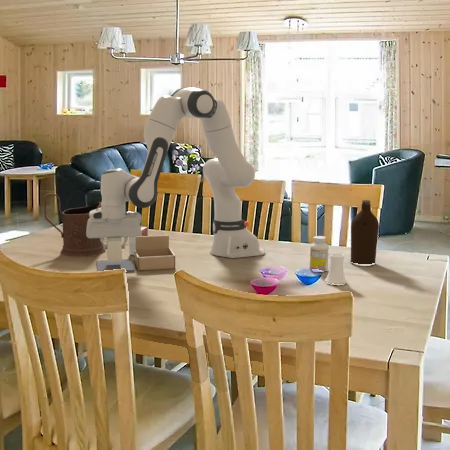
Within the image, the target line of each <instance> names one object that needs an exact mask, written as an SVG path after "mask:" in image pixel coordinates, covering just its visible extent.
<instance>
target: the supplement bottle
mask: <svg viewBox="0 0 450 450" xmlns="http://www.w3.org/2000/svg"><path fill="white" fill-rule="evenodd" d="M326 242H327V236H323V235H315V236H313V243H311V244H310V249H309V250H310V254H309V255H310V256H309V257H310V258H309V269H310V268H311V269H319V270H322V271H326V272H328V271H329V244H328V243H326Z"/></svg>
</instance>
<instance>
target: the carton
mask: <svg viewBox="0 0 450 450" xmlns="http://www.w3.org/2000/svg"><path fill="white" fill-rule="evenodd" d="M135 239H136V249H134V254H135V255H134V263H135V266H136V269H137V271H138V272H139V271H140V270H141V271H153V270H154V271H157V270H173V269H176V254H175V253H174V252H173V250H172V248H171V247H170V235H148V236H142V237H135Z"/></svg>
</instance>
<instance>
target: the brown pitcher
mask: <svg viewBox="0 0 450 450" xmlns="http://www.w3.org/2000/svg"><path fill="white" fill-rule="evenodd" d="M48 196H54V197H56V198H57V199H58V210H59V213H60V218H61V220H62V230H61V229H60V228H59V227H58V226H56V225H55V224H54V223H53V222H52V221H51V220H50V219H49V218H48V217H47V208H46V207H47V206H46V205H47V203H46V202H47V201H46V198H47V197H48ZM101 202H102V201H97V202H94V203H93V204H91V205H87V206H83V207H74V208H68V209H66V210H64V211H62V209H61V208H62V204H61V198H60V196H59V195H58V194H56V193H46V194H45V195H44V196H43V213H44V219H45V220H46V221H47V222H48V223H49V224H51V226H52V227H54V228H55V229H56V230H57V231H58V232H60V235H61V238H62V239H63V241H62V242H63V243H62V244H63V245H62V248H61V251H60V255H62V256H65V257H69V258H70V257H71V258H88V257H95V256H100V255H103V254H105V253H107V249H104V248H103V244H102V242H101V241H100V238H88V237H87V236H86V228H87V221H88V219H89V218H90V217H89V213H90V211H92V210H95V209H98V208H101Z"/></svg>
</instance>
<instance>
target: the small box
mask: <svg viewBox="0 0 450 450" xmlns="http://www.w3.org/2000/svg"><path fill="white" fill-rule="evenodd" d="M148 228H149V227H148V226H141V235H140V236H138V237H142V236H149V234H148V232H149V229H148ZM128 246H129V247H128V252H129V256H135V254H134V249H136V239H135V237H128Z"/></svg>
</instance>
